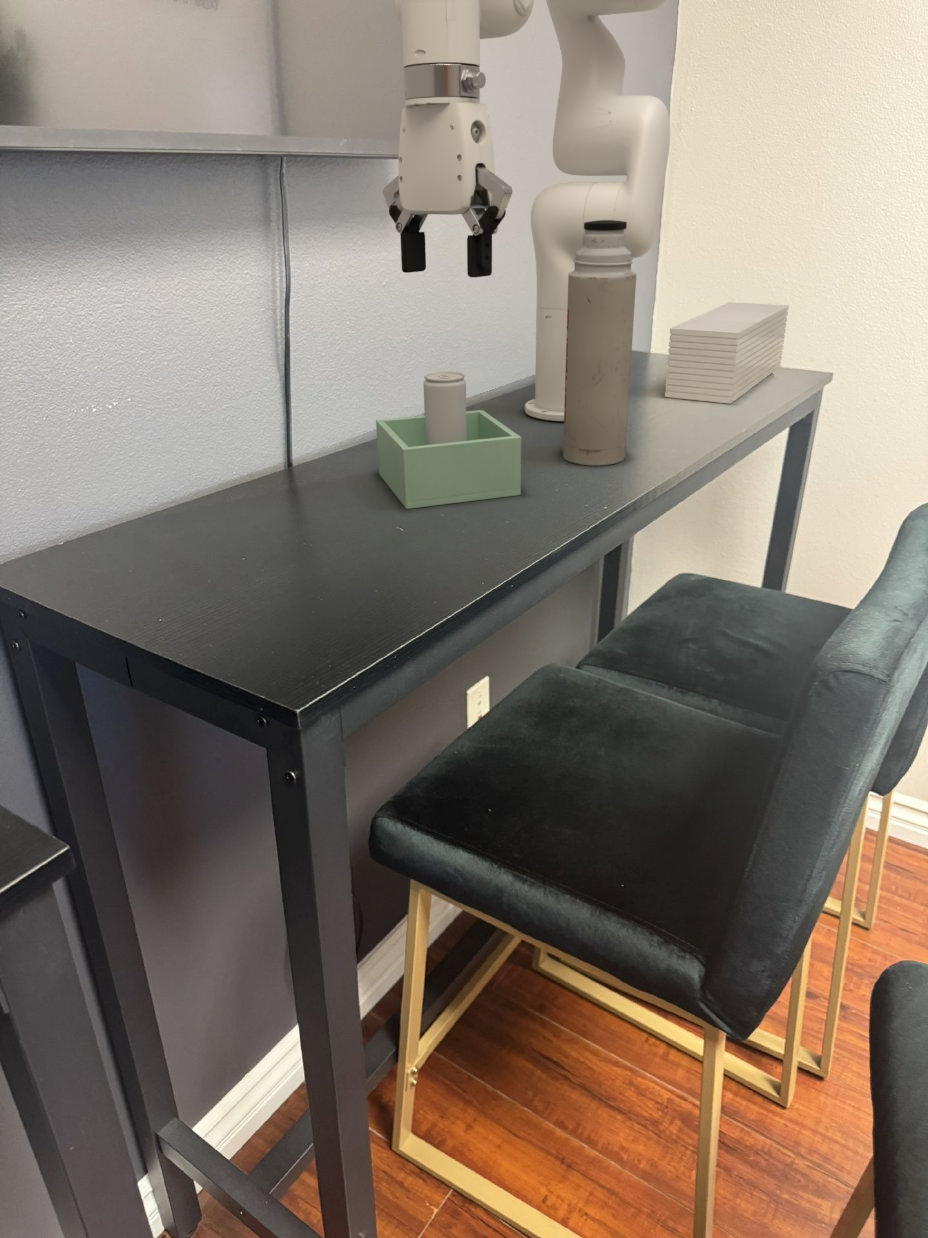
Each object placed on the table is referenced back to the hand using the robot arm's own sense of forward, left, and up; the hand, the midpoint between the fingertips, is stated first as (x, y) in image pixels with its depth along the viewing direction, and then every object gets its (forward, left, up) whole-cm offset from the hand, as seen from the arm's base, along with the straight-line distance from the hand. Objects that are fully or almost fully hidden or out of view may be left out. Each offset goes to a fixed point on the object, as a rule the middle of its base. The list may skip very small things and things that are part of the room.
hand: (445, 273), depth 96 cm
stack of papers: (-37, +61, -24) cm, 75 cm away
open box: (0, 0, -24) cm, 24 cm away
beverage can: (0, 0, -23) cm, 23 cm away
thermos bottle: (-4, +21, -24) cm, 32 cm away
